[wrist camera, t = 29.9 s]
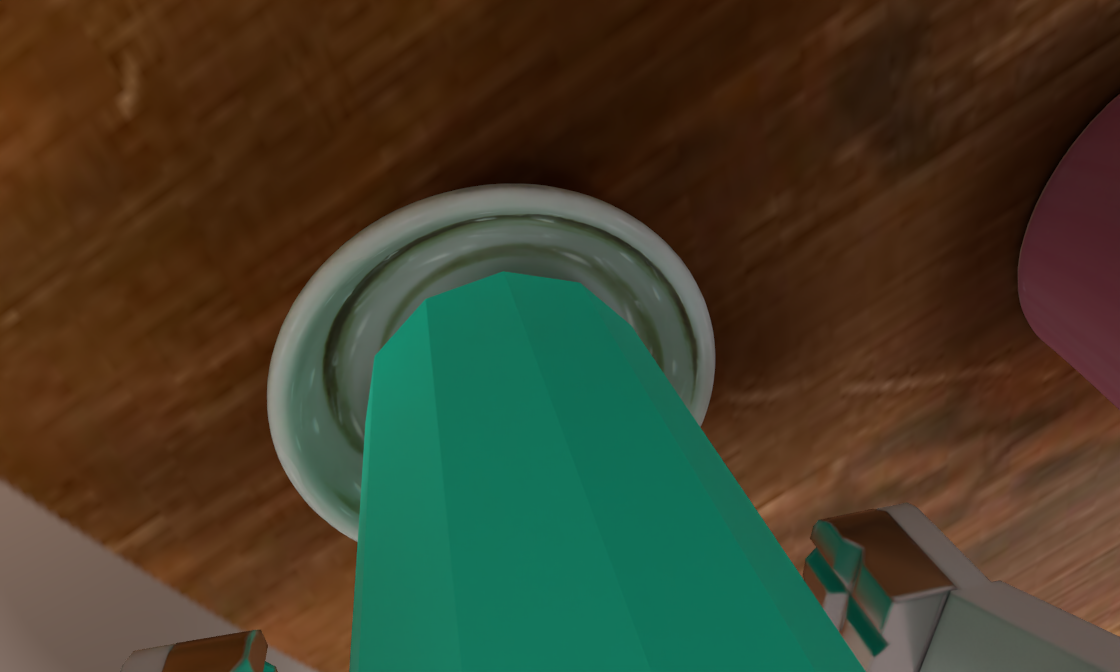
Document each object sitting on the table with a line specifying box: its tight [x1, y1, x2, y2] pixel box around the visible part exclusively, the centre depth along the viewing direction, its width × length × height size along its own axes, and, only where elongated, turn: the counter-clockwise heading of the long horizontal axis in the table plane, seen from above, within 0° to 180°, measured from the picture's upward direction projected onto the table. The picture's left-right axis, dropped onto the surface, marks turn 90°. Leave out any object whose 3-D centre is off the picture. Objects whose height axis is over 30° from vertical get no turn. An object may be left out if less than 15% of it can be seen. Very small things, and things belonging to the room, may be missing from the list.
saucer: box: [267, 184, 715, 542], centre depth 15 cm, size 10×10×2 cm
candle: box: [349, 271, 866, 672], centre depth 9 cm, size 6×6×12 cm
